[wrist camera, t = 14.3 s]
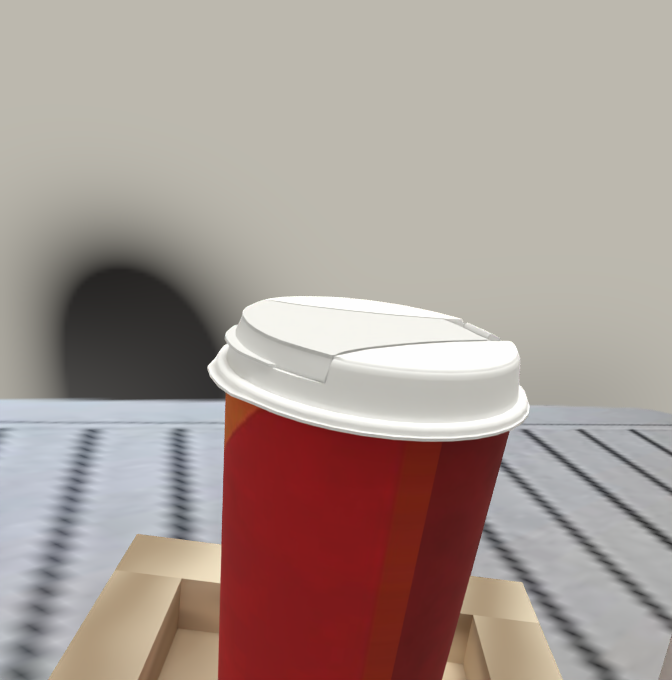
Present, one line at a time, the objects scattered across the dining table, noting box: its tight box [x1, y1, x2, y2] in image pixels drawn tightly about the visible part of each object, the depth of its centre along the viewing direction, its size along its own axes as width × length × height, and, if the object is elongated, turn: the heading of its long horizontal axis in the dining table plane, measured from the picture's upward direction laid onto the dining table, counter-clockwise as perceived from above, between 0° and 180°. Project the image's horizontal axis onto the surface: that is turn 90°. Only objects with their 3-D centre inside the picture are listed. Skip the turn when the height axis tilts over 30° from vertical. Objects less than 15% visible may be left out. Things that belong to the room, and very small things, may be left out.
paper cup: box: [208, 296, 530, 680], centre depth 17 cm, size 8×8×14 cm
